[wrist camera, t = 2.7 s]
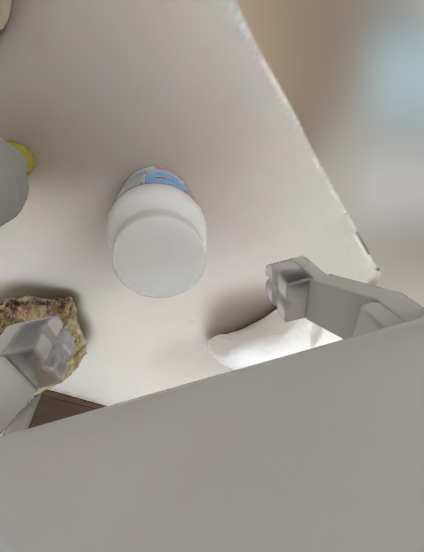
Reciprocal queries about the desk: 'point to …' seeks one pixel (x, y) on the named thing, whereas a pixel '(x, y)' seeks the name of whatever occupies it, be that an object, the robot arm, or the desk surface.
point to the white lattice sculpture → (4, 12)
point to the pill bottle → (156, 234)
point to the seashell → (35, 308)
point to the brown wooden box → (48, 410)
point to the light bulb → (13, 178)
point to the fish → (267, 341)
